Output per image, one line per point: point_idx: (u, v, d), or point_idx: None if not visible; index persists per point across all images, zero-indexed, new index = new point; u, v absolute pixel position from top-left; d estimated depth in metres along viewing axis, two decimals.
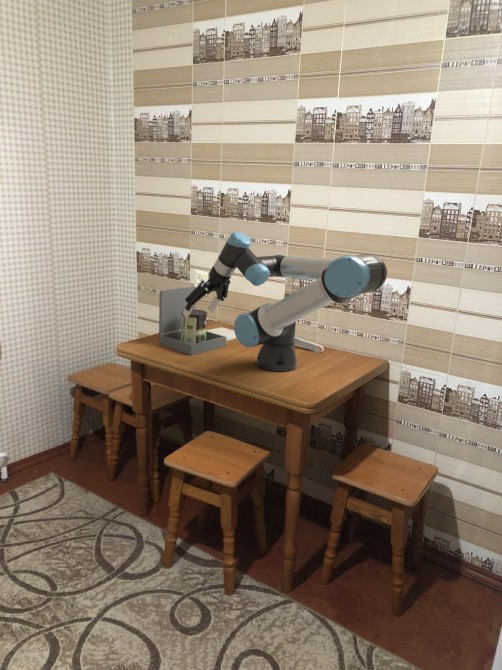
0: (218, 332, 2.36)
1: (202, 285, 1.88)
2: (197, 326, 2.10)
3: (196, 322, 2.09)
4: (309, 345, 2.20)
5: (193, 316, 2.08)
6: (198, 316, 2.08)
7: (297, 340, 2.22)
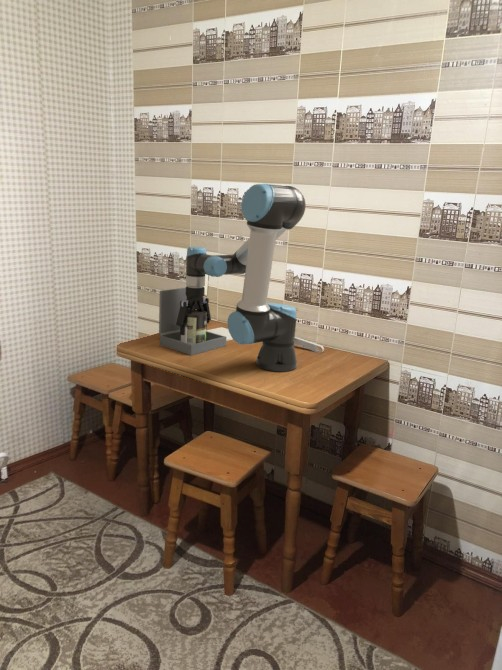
0: (218, 332, 2.36)
1: (182, 304, 2.06)
2: (197, 326, 2.10)
3: (196, 322, 2.09)
4: (309, 345, 2.20)
5: (193, 316, 2.08)
6: (198, 316, 2.08)
7: (297, 340, 2.22)
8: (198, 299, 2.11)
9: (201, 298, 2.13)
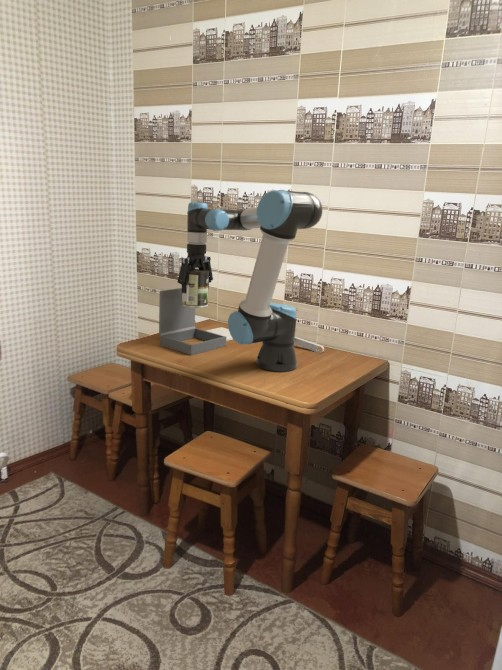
0: (218, 332, 2.36)
1: (184, 261, 2.02)
2: (199, 284, 2.05)
3: (198, 280, 2.04)
4: (309, 345, 2.20)
5: (195, 273, 2.04)
6: (200, 273, 2.04)
7: (298, 340, 2.22)
8: (200, 257, 2.07)
9: (203, 256, 2.08)
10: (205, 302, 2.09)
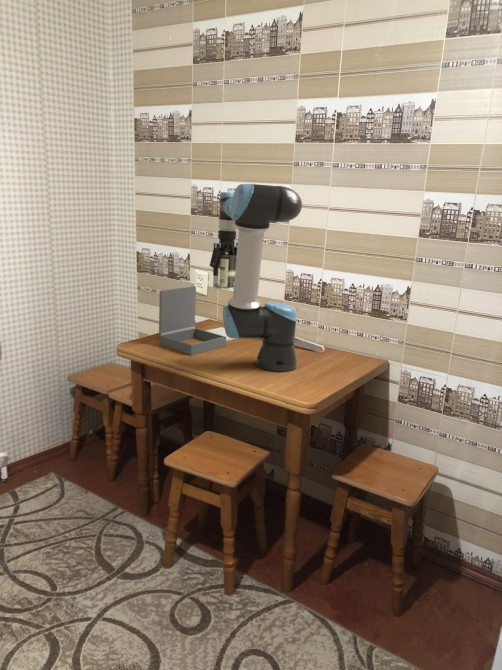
0: (218, 332, 2.36)
1: (216, 246, 2.20)
2: (229, 267, 2.23)
3: (228, 263, 2.22)
4: (310, 345, 2.20)
5: (225, 257, 2.21)
6: (230, 257, 2.22)
7: (298, 340, 2.22)
8: (230, 242, 2.25)
9: (232, 242, 2.26)
10: None
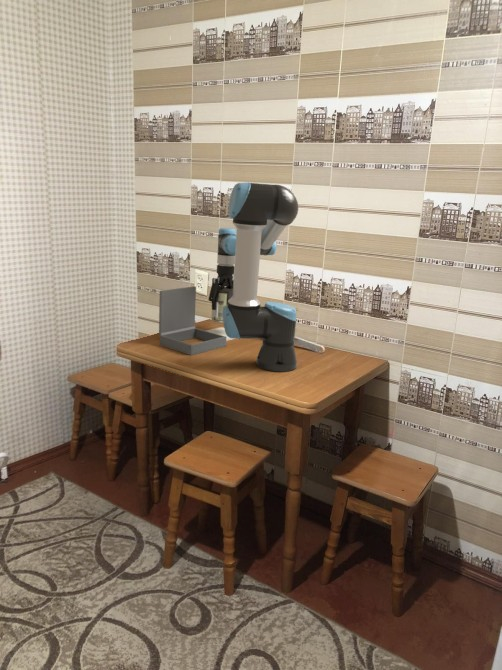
0: (218, 332, 2.36)
1: (214, 281, 2.24)
2: None
3: (226, 297, 2.26)
4: (310, 345, 2.20)
5: (224, 292, 2.25)
6: (228, 292, 2.26)
7: (298, 340, 2.22)
8: (228, 277, 2.29)
9: (231, 276, 2.30)
10: None
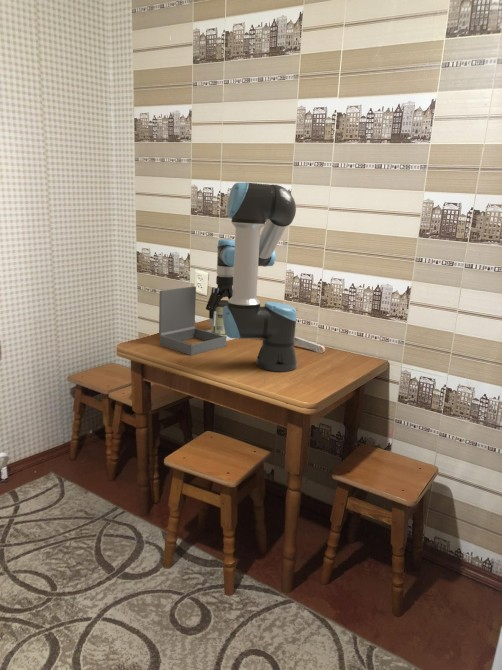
0: None
1: (214, 290, 2.25)
2: None
3: None
4: (310, 345, 2.20)
5: (223, 306, 2.27)
6: None
7: (299, 340, 2.22)
8: (227, 288, 2.30)
9: (230, 287, 2.31)
10: None
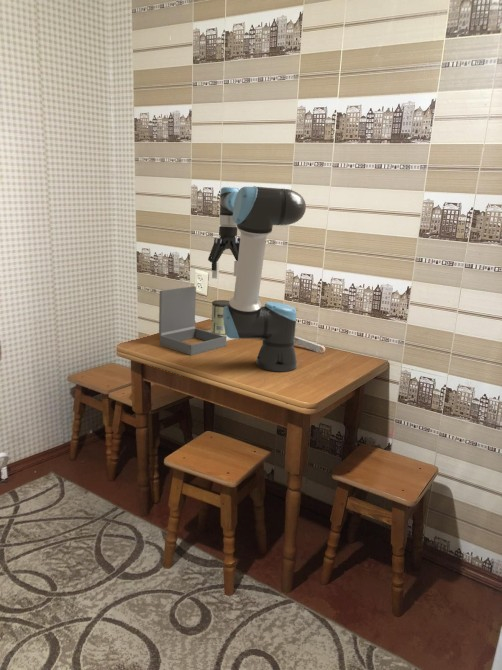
0: None
1: (216, 241, 2.15)
2: None
3: None
4: (310, 345, 2.20)
5: (223, 306, 2.27)
6: None
7: (299, 340, 2.22)
8: (231, 240, 2.20)
9: (233, 238, 2.21)
10: None
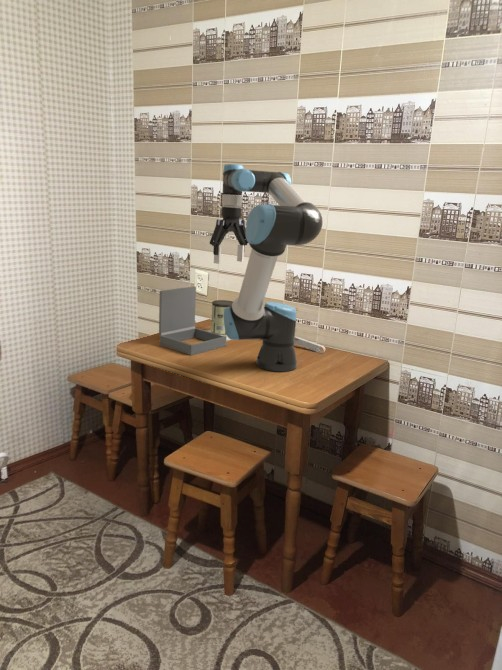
0: None
1: (219, 222, 1.98)
2: None
3: None
4: (311, 345, 2.19)
5: (223, 306, 2.27)
6: (228, 306, 2.27)
7: (299, 340, 2.22)
8: (234, 222, 2.03)
9: (237, 220, 2.04)
10: None
